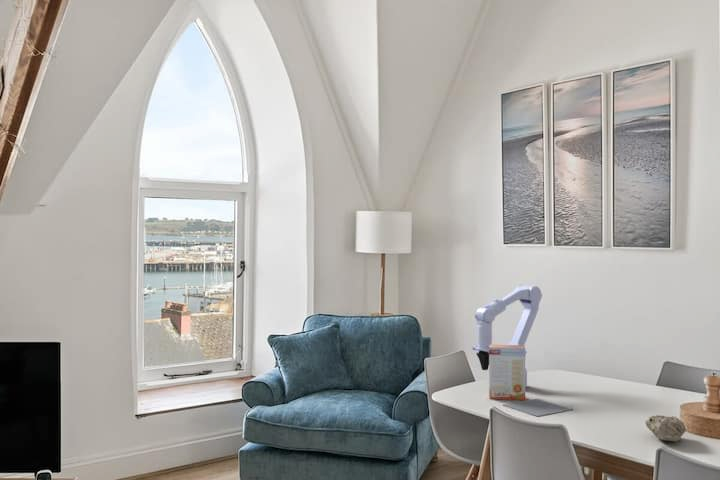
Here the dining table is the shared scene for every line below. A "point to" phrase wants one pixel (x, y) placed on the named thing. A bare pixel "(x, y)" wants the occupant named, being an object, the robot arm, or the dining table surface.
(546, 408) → the mat
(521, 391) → the cracker box
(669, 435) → the pumice stone
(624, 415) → the dining table surface
